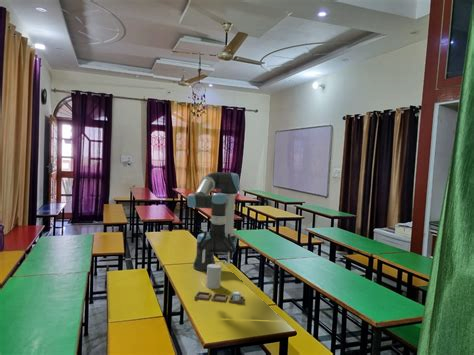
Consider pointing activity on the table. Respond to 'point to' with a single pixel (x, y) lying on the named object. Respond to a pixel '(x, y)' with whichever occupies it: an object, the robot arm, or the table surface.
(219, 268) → the cup
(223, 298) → the tray
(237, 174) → the robot arm
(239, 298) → the letter cube
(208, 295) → the tray
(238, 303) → the tray
